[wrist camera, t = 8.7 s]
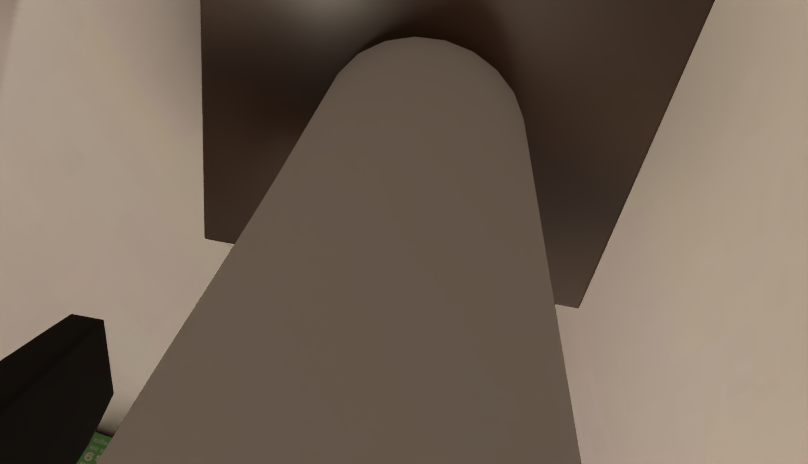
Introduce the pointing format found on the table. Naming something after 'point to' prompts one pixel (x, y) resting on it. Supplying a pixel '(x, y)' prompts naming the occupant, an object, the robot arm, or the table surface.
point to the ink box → (94, 449)
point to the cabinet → (496, 44)
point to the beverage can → (377, 292)
